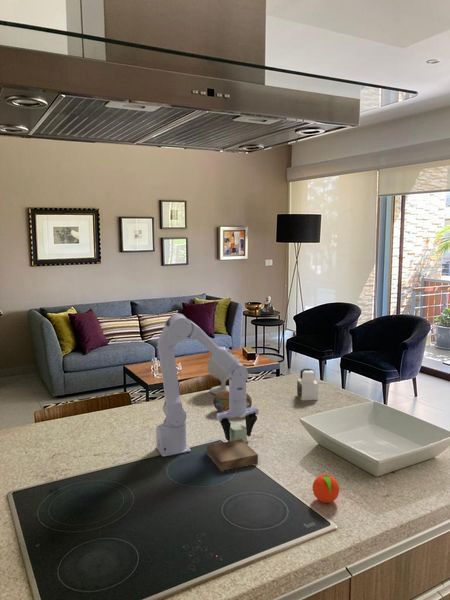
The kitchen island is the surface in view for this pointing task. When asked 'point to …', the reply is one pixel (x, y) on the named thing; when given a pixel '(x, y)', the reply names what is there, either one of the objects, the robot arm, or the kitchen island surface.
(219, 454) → the plinth
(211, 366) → the chalice
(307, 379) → the medicine bottle
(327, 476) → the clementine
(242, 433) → the block
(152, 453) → the kitchen island surface
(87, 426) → the kitchen island surface
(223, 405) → the tin
